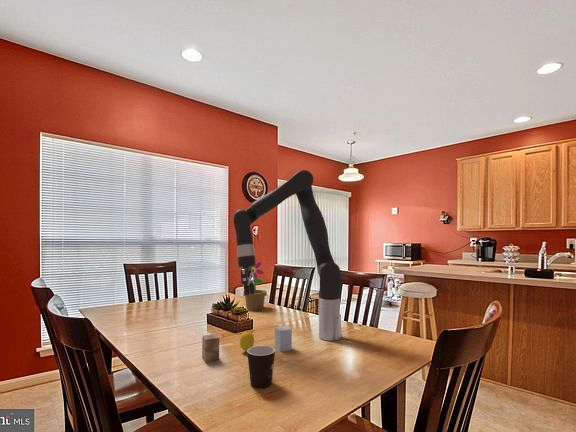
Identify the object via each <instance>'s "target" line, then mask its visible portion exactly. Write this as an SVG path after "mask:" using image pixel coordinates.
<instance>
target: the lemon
mask: <svg viewBox="0 0 576 432" xmlns="http://www.w3.org/2000/svg"><path fill="white" fill-rule="evenodd" d="M254 344H255V339H254V335H253V333H252V332H251V331H249V330H246V331H244V332H242V333H241V334H240V337H239V346H240V349H242V350H243V351H244V352H246V353H247V350H248V349H249V348H251V347H254Z"/></svg>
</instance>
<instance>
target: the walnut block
mask: <svg viewBox="0 0 576 432" xmlns="http://www.w3.org/2000/svg"><path fill="white" fill-rule="evenodd" d="M201 340H202V343H201V344H202V345H201V347H202V348H201V349H202V350H201V351H202V353H201V355H202V356H201V357H202V360H203V361H204V363H210V362H218V361H220V336H219V335H218V333H213V334H205V335H202V339H201Z"/></svg>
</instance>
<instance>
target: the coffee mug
mask: <svg viewBox="0 0 576 432" xmlns="http://www.w3.org/2000/svg"><path fill="white" fill-rule="evenodd" d="M246 354H247V361H248V372H249V373H248V374H249V381H250V386H251V388H254V389H261V390H264V389H267V388H269V387H271V386H272V383H273V382H272V381H273V373H274V364H275V356H276V348H275V347H273V346H269V345H265V344H264V345H255V346H254V345H253V347H251V348H249V349H248V350H247V352H246Z"/></svg>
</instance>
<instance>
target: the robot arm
mask: <svg viewBox="0 0 576 432" xmlns="http://www.w3.org/2000/svg"><path fill="white" fill-rule="evenodd" d="M313 185H314V175H313V174H312V173H311V172H310V171H308V170H306V169H301V170H298V171H297V172H295V173H294V175H292V176H291V177H289V178H288V180H287V181H285V182H284V183H282V184H281V185H279V186H278V187H277V188H275V189H273V190H272V191H269V192H268V193H266V194H265V195H263V196H261V197H260V198H258V199H257V200H255V201H254V202H252V203H251V205H250V206H249V207H248V208H247V209H241V208H240V209H237V210H236V211H235V212H234V214H233V225H234V231H235V238H236V254H237V267H238V268H240V279H241V281H240V282H241V285H242V286H243V292H244V294H245V295H249V294H254V293H255V289H254V284H255V274H254V269H253V270H252V266H254V267H255V266H256V264H257V263H256V253H255V247H254V239H253V237H254V236H253V233H252V230H251V225H252V224H253V223H255V222H256V221H257V220H258V219H259V218H260V217H262V216H263V215H265V214H267V213H269V212H270V211H272V210H273V209H275V208H277V207H278V206H279V205H281V203H283V202H284V201H286V200H287V199H288V198H291V197H292V196H293V195H296V198H297V201H298V203H299V208H300V213H301V216H302V221H303V224H304V228H305V233H306V235H307V239H308V241H309V243H310V246H311V248H312V251H313V253H314V258H315V263H316V269H317V275H318V277H319V289H318V337H319V339H320V340H324V341H329V342H330V341H331V342H332V341H340V339H341V338H342V315H341V301H340V300H341V290H342V289H341V287H342V284H341V283H342V273H341V271H342V270H341V268H340V266H339V265H338V264H337V263H336V262H335V260H334V258H333V255H332V252H331V249H330V244H329V236H328V235H329V234H328V228H327V225H326V222H325V221H326V220H325V218H324V216H323V213H322V211H321V209H320V207H319V205H318V203H317V201H316V199H315V197H314V191H313Z"/></svg>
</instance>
